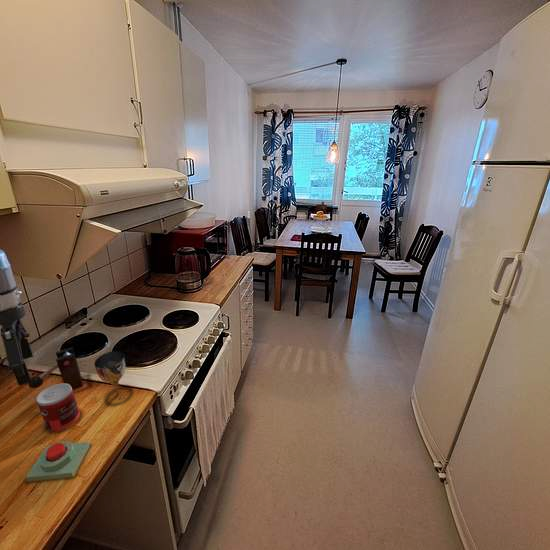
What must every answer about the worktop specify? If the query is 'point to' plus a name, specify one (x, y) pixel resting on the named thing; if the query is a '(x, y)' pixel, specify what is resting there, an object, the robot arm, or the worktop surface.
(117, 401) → the worktop surface
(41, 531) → the worktop surface
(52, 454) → the button
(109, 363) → the wine glass
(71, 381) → the dark brown boxy piece
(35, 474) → the button box
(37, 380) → the lever
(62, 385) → the canned food
